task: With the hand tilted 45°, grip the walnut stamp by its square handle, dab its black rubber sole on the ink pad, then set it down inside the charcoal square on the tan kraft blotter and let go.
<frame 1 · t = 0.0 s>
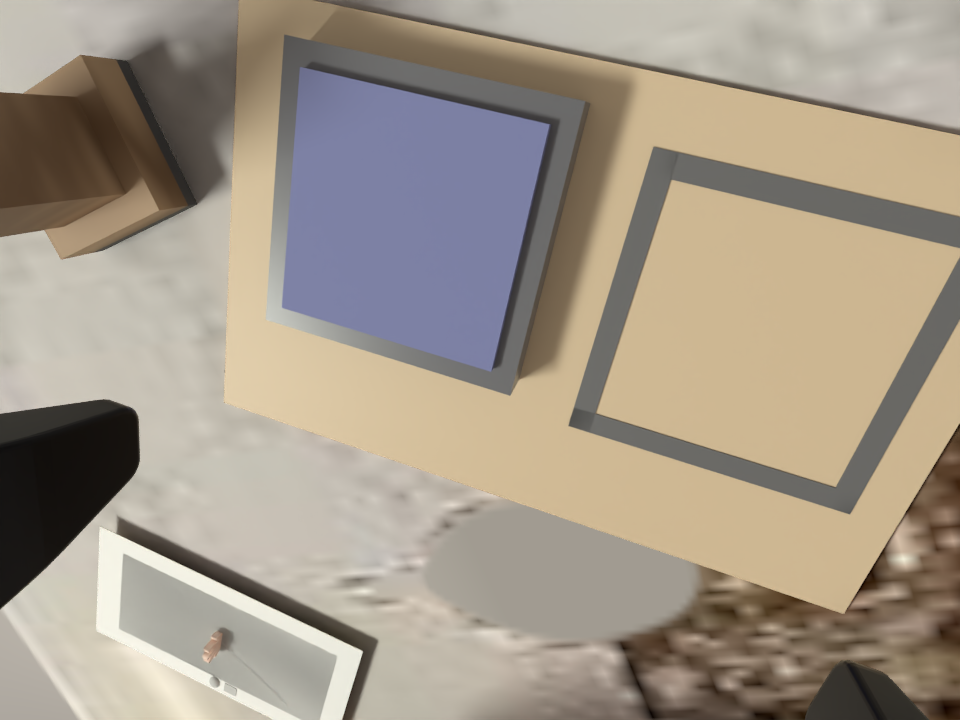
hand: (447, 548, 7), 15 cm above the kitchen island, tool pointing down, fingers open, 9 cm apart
ink pad: (419, 219, 21), resting on kraft blotter
kraft blotter: (756, 339, 20), on the kitchen island
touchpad: (234, 621, 33), on the kitchen island
walnut stamp: (114, 162, 24), on the kitchen island
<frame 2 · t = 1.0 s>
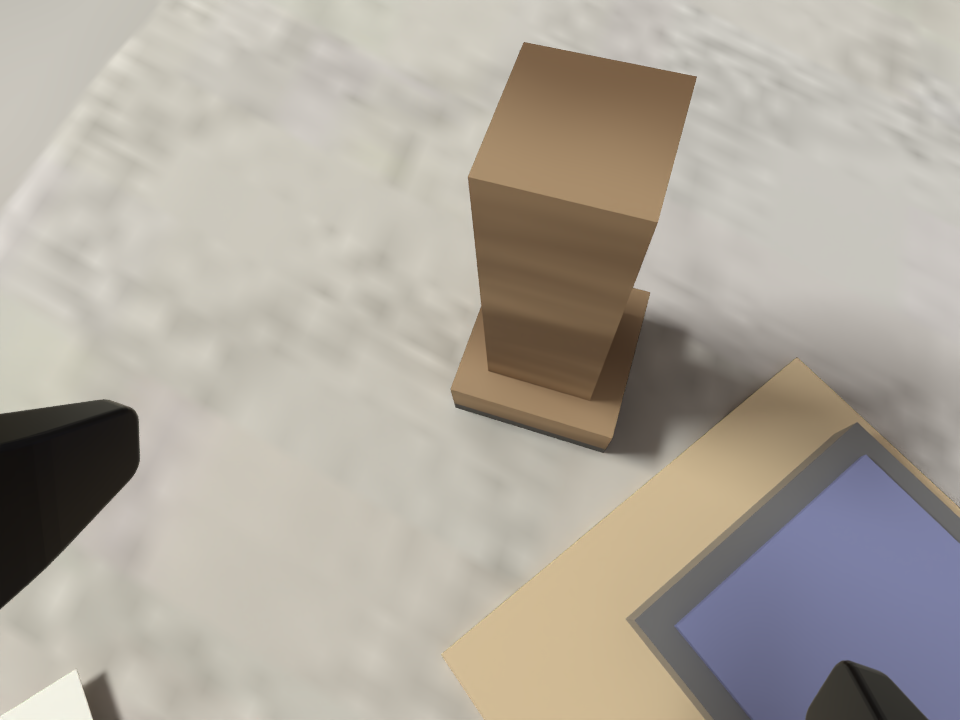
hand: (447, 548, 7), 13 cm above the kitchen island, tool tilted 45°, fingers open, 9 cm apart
ink pad: (852, 651, 18), resting on kraft blotter
walnut stamp: (549, 361, 22), on the kitchen island
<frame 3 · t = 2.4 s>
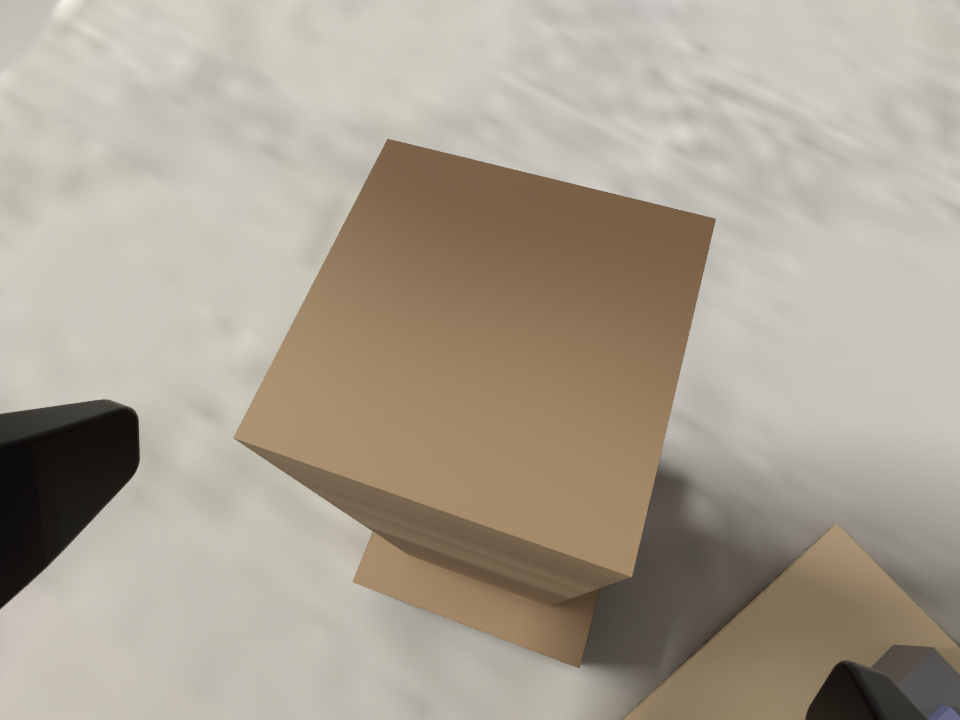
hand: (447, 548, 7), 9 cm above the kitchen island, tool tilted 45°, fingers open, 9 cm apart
walnut stamp: (501, 520, 17), on the kitchen island
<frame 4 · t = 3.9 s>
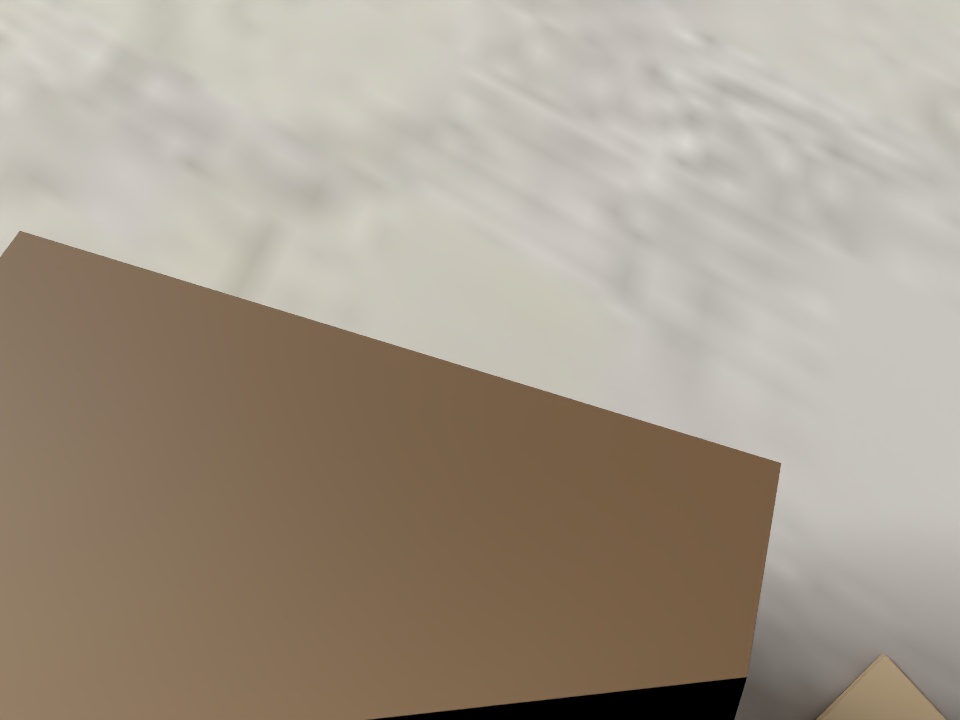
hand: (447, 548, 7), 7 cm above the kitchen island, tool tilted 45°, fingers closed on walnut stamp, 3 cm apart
walnut stamp: (453, 643, 13), on the kitchen island, touching gripper
when the fingers open (8 cm above the kitchen island, at t = 11.3 s): walnut stamp drops 1 cm, resting on kraft blotter.
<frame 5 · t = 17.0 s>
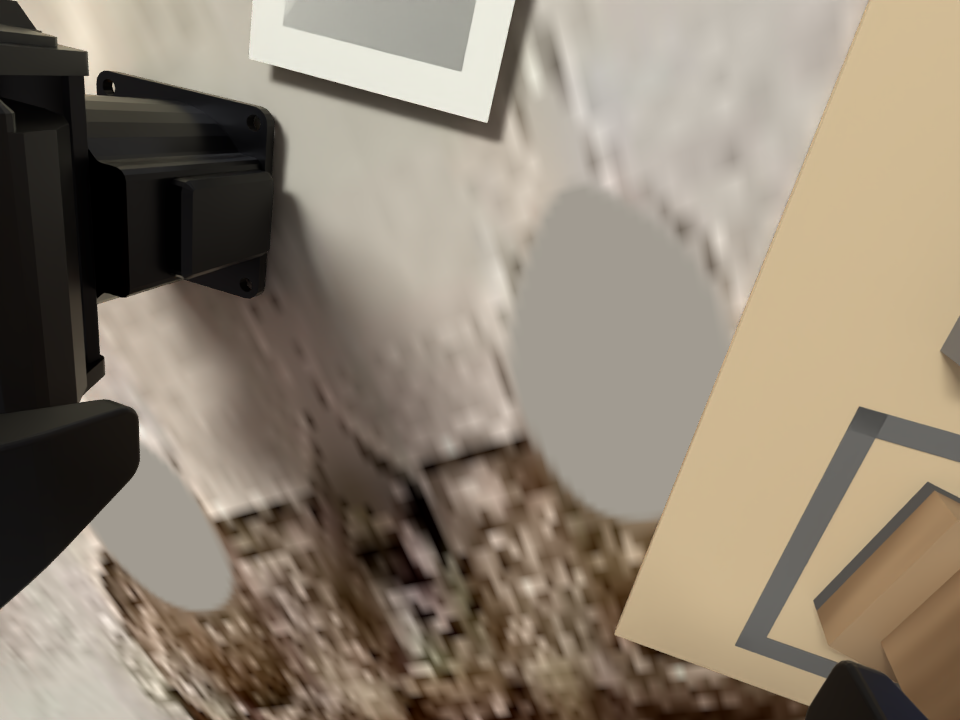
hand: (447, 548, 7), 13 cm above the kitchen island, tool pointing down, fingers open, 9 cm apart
kraft blotter: (951, 585, 19), on the kitchen island
walnut stamp: (948, 586, 19), resting on kraft blotter
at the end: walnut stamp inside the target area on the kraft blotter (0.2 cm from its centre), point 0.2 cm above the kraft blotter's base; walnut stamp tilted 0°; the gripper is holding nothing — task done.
